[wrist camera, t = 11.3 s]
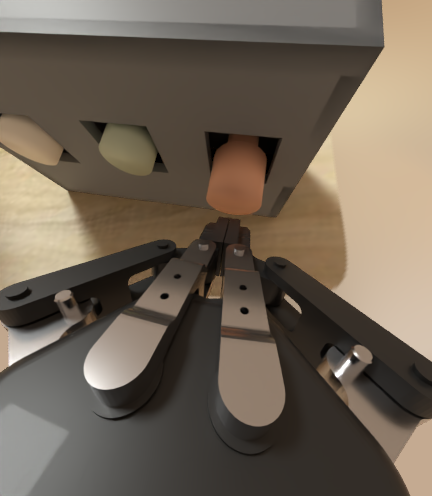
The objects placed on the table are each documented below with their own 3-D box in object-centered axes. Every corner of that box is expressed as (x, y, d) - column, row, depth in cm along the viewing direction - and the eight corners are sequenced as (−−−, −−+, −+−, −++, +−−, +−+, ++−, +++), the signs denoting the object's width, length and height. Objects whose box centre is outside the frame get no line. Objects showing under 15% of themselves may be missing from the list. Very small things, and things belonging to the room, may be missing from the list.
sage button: (159, 177, 17) (138, 142, 13) (118, 173, 17) (85, 137, 13) (176, 116, 18) (162, 68, 14) (137, 113, 19) (114, 65, 15)
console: (276, 217, 22) (384, 46, 7) (67, 190, 25) (-189, 24, 10) (282, 148, 25) (375, -95, 9) (90, 130, 27) (-86, -81, 12)
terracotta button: (256, 217, 15) (266, 191, 11) (208, 211, 16) (202, 183, 12) (265, 146, 17) (277, 102, 13) (222, 142, 17) (220, 98, 13)
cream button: (68, 167, 18) (23, 131, 14) (31, 163, 18) (-23, 127, 14) (92, 109, 19) (58, 62, 15) (57, 106, 20) (15, 60, 16)
